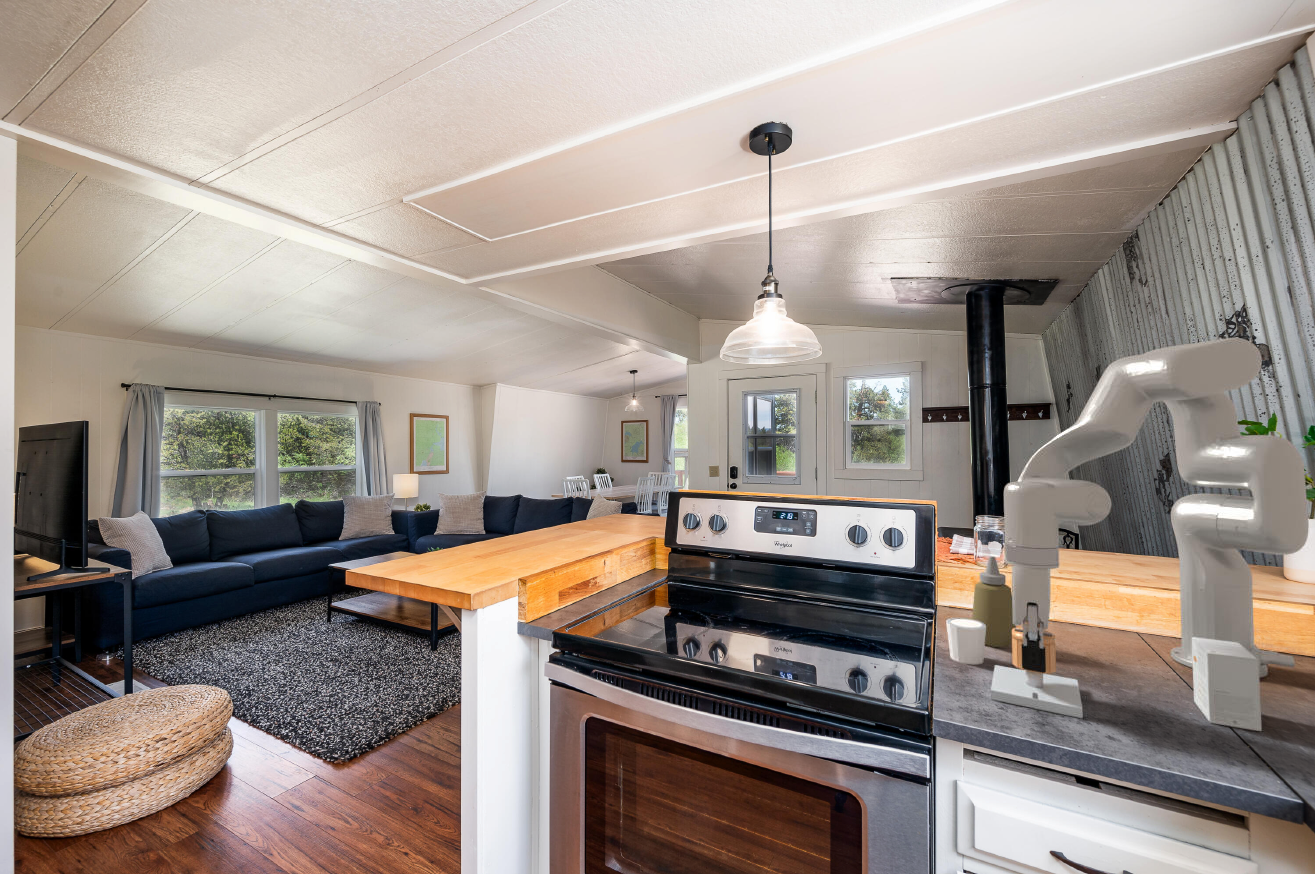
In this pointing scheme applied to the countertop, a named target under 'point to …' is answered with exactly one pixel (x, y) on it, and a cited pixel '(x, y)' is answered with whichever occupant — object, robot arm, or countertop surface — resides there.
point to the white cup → (966, 640)
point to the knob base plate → (1037, 691)
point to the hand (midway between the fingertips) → (1033, 662)
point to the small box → (1226, 683)
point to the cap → (1047, 643)
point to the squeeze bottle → (994, 606)
